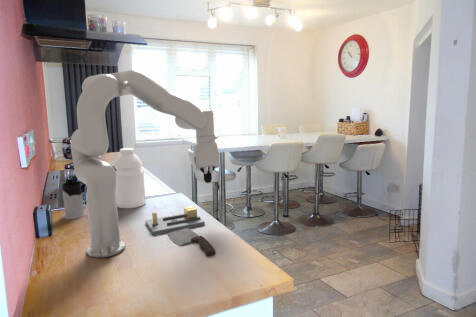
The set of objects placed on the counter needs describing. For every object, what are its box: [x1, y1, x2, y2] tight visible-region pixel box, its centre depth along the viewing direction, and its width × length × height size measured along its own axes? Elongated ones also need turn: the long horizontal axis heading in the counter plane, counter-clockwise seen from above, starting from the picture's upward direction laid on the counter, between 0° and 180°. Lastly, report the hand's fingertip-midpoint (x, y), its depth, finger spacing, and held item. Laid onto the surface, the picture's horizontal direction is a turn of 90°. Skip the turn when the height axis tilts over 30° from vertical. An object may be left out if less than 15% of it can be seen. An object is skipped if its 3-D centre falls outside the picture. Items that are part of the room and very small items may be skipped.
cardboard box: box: [183, 205, 198, 219], centre depth 147 cm, size 5×4×4 cm
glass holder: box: [61, 181, 87, 220], centre depth 159 cm, size 9×14×15 cm, turn 130°
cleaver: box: [166, 227, 216, 257], centre depth 127 cm, size 29×10×2 cm, turn 33°
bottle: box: [113, 147, 146, 209], centre depth 171 cm, size 14×14×28 cm
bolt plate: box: [145, 211, 206, 236], centre depth 144 cm, size 14×21×6 cm, turn 116°
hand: (207, 182), depth 149 cm, fingers closed
